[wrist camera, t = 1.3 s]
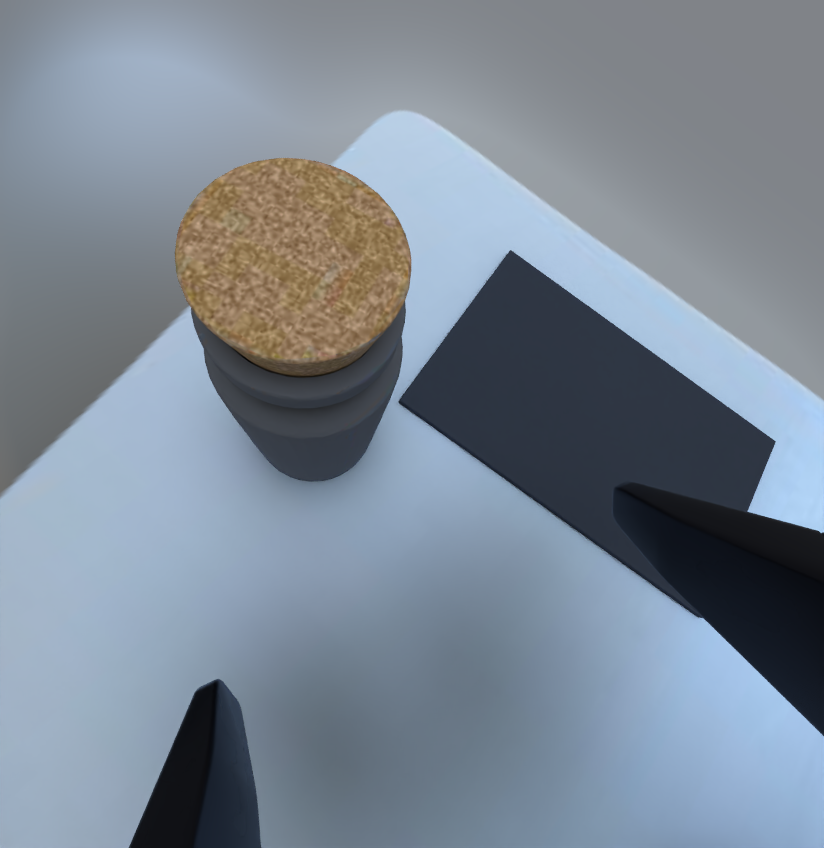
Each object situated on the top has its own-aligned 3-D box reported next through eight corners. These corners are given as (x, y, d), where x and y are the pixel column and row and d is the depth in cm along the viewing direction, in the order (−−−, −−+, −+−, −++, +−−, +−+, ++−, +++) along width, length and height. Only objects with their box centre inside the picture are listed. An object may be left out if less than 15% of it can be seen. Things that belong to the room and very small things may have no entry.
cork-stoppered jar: (318, 350, 25) (307, 89, 10) (394, 428, 24) (492, 272, 10) (230, 422, 23) (69, 229, 9) (311, 507, 23) (285, 454, 8)
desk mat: (770, 442, 28) (776, 441, 28) (698, 617, 25) (704, 618, 24) (508, 253, 28) (510, 249, 28) (398, 402, 25) (399, 400, 24)
